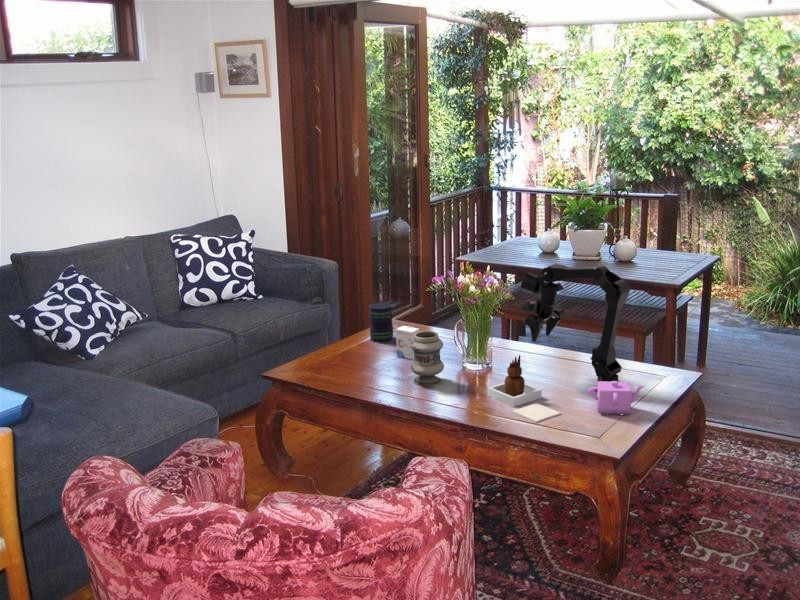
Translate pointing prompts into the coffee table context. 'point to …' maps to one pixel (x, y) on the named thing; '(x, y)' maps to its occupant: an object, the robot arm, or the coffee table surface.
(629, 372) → the coffee table surface
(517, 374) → the wooden figurine
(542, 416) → the tile
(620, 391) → the teapot
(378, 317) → the storage jar
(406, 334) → the ink box
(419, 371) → the apothecary jar
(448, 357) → the coffee table surface
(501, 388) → the white square tray
